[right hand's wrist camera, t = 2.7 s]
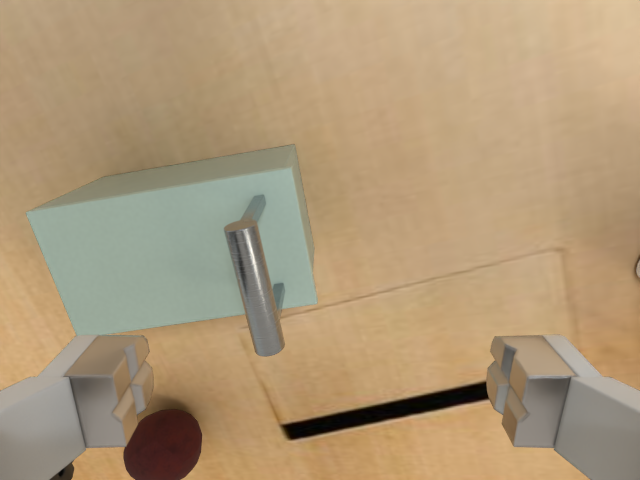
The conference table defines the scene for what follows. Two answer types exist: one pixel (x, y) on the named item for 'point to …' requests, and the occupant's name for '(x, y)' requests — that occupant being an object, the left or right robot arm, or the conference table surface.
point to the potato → (163, 446)
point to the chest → (196, 178)
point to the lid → (182, 256)
